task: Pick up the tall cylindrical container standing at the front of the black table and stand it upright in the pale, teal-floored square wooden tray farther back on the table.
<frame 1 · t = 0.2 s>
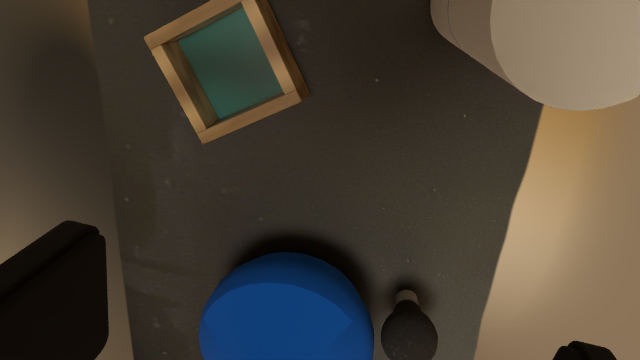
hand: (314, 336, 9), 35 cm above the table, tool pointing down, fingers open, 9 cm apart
square wooden tray: (237, 63, 43), on the table
vase: (300, 292, 52), on the table
light bulb: (406, 293, 50), on the table
cylindrical container: (472, 3, 38), on the table
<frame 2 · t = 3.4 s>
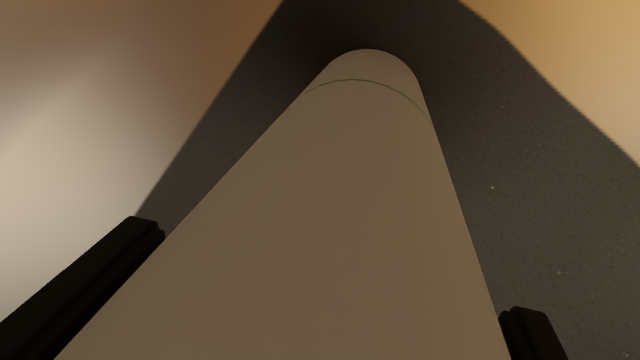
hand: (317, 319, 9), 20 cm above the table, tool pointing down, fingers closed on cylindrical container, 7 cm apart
cylindrical container: (365, 105, 28), on the table, touching gripper
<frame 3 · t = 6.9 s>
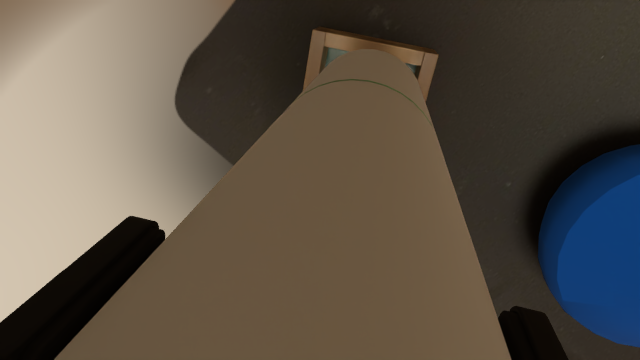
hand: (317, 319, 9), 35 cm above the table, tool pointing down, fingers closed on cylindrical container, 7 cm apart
square wooden tray: (363, 94, 43), on the table
vase: (615, 208, 43), on the table
cylindrical container: (365, 105, 28), point 15 cm above the table, touching gripper
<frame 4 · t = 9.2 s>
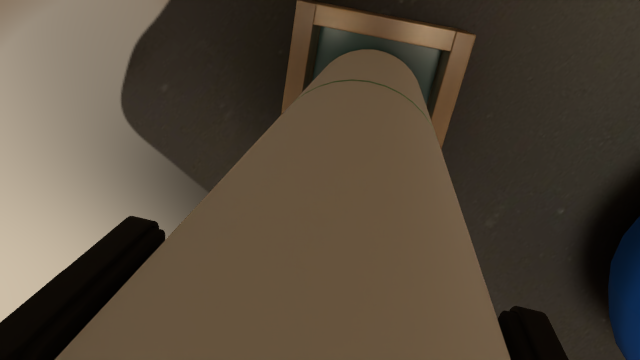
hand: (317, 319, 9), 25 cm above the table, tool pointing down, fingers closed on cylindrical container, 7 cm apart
square wooden tray: (368, 93, 32), on the table
cylindrical container: (365, 106, 28), point 4 cm above the table, touching gripper
when the fingers open (21 cm above the table, at t = 10.7 s): cylindrical container stays where it is, resting on square wooden tray.
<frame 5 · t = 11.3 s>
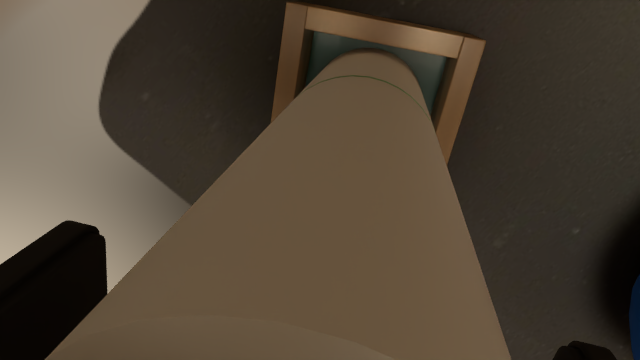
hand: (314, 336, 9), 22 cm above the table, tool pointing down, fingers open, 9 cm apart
square wooden tray: (366, 102, 29), on the table
cylindrical container: (366, 103, 28), point 1 cm above the table, touching square wooden tray
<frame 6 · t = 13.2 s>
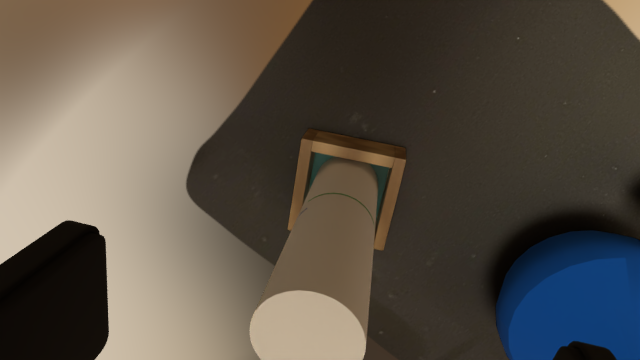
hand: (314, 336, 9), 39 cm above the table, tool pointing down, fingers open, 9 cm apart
square wooden tray: (347, 182, 50), on the table
vase: (565, 276, 50), on the table
cylindrical container: (346, 183, 49), point 1 cm above the table, touching square wooden tray
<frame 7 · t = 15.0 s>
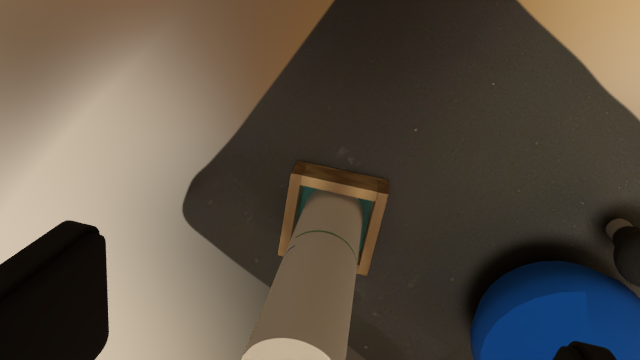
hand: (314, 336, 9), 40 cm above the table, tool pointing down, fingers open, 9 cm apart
square wooden tray: (334, 210, 53), on the table
vase: (537, 299, 54), on the table
light bulb: (613, 224, 49), on the table
cylindrical container: (333, 211, 52), point 1 cm above the table, touching square wooden tray
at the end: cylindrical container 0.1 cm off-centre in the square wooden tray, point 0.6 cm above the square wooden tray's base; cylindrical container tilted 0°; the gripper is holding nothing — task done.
